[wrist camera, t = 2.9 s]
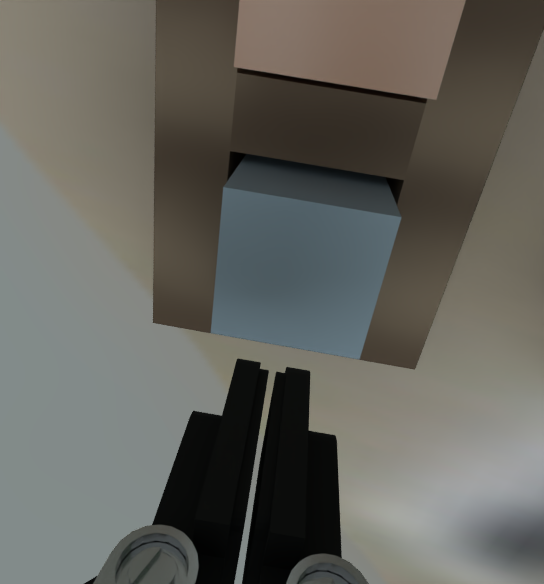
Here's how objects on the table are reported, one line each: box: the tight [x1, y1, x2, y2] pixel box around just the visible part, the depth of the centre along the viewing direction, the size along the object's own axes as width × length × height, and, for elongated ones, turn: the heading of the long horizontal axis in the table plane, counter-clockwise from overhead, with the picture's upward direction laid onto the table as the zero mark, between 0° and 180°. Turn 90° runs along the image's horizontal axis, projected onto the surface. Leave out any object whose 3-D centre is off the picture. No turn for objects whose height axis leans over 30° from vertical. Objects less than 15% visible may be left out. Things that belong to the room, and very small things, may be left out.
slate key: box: [211, 154, 401, 359], centre depth 18 cm, size 6×6×5 cm
